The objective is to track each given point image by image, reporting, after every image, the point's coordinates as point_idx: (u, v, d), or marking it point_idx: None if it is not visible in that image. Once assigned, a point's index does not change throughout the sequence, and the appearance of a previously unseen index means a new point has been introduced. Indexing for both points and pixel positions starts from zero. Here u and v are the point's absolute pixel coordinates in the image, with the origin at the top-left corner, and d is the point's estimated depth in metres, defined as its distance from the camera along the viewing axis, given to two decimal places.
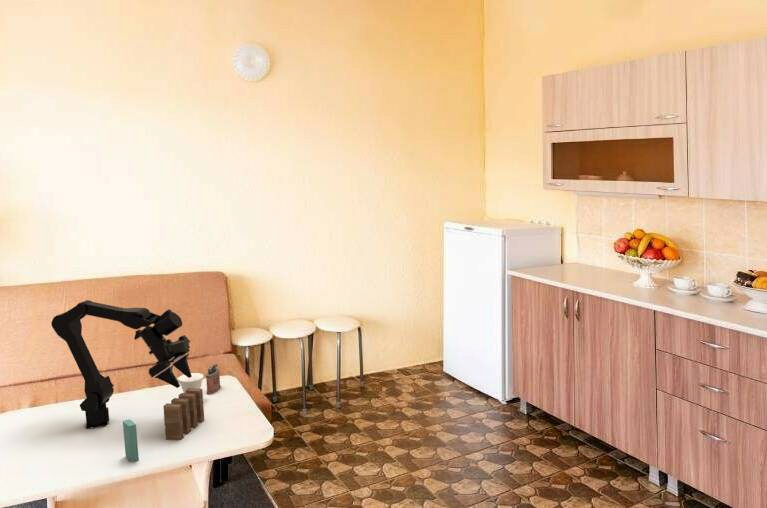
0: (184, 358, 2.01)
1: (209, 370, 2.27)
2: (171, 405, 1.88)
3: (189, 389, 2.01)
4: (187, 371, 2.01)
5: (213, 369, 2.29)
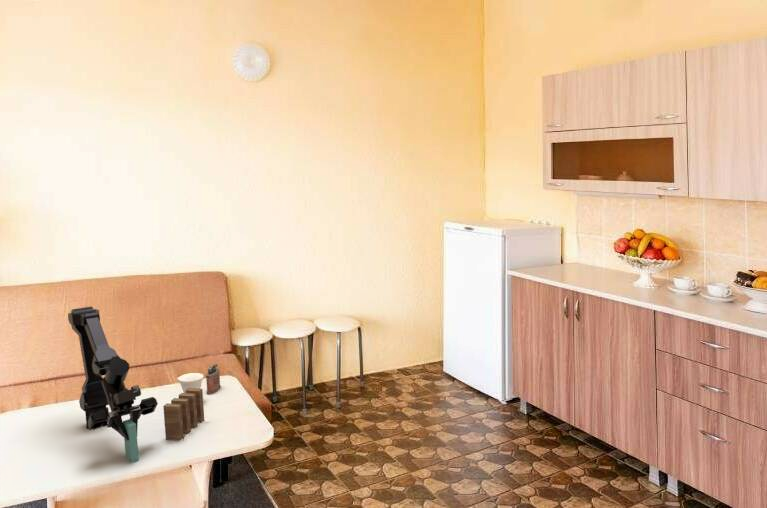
0: (132, 414, 1.77)
1: (209, 370, 2.27)
2: (171, 405, 1.88)
3: (189, 389, 2.01)
4: None
5: (213, 369, 2.29)
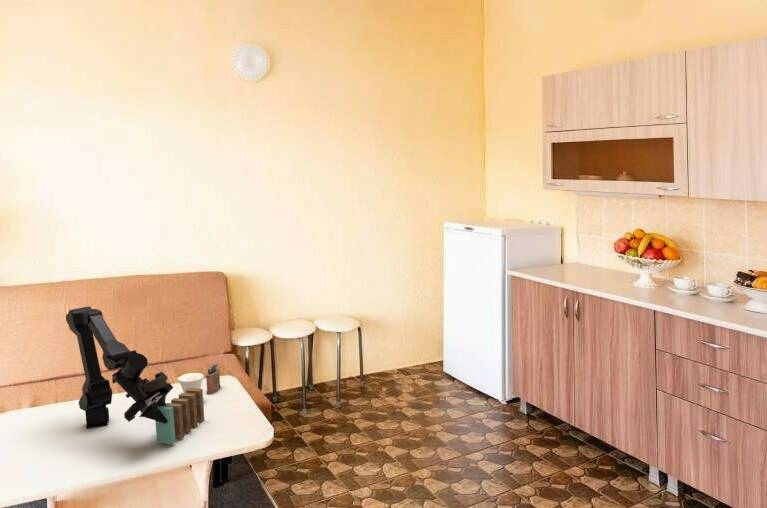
0: (161, 400, 1.85)
1: (209, 370, 2.27)
2: (171, 405, 1.88)
3: (189, 389, 2.01)
4: None
5: (213, 369, 2.29)
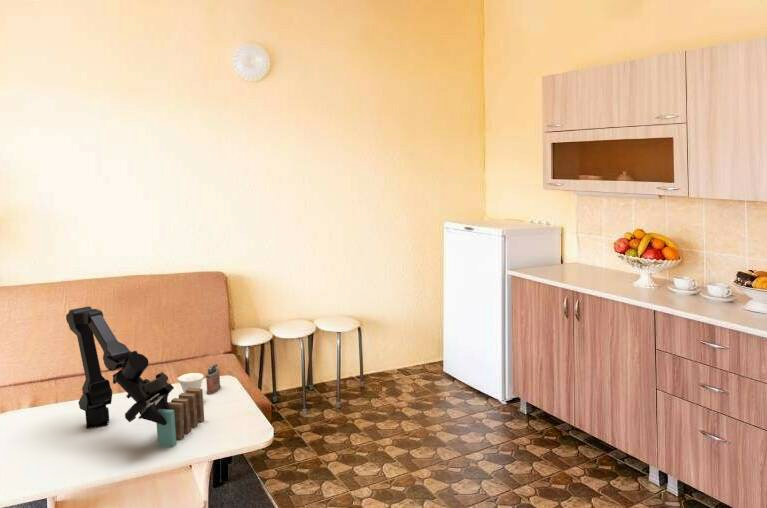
0: (163, 399, 1.86)
1: (209, 370, 2.27)
2: (173, 403, 1.89)
3: (189, 389, 2.01)
4: None
5: (213, 369, 2.29)
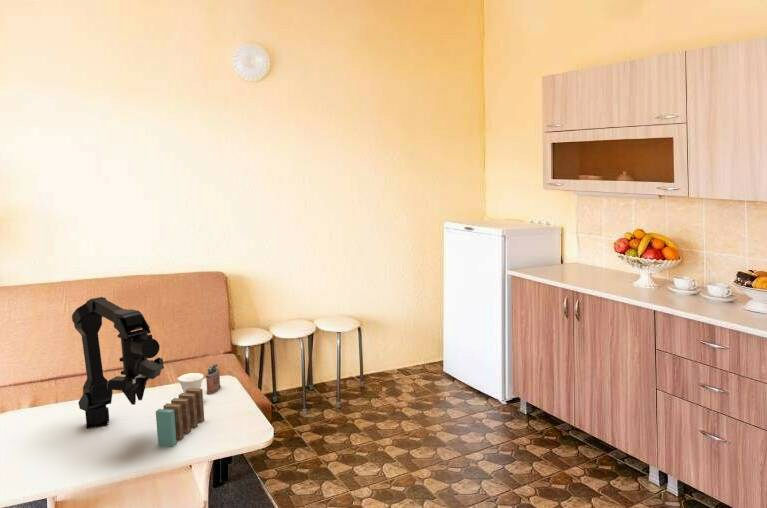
0: (144, 380, 1.86)
1: (209, 370, 2.27)
2: (171, 405, 1.88)
3: (189, 389, 2.01)
4: (140, 393, 1.86)
5: (213, 369, 2.29)
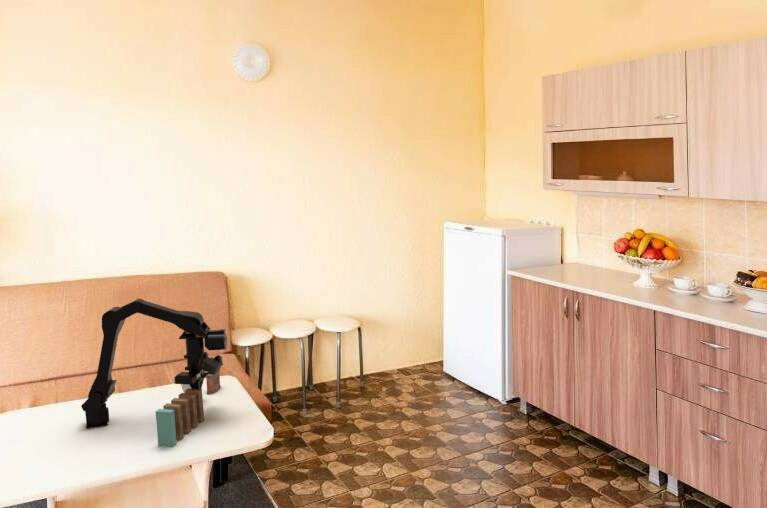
0: (202, 377, 2.03)
1: None
2: (171, 405, 1.88)
3: (188, 389, 2.01)
4: None
5: None
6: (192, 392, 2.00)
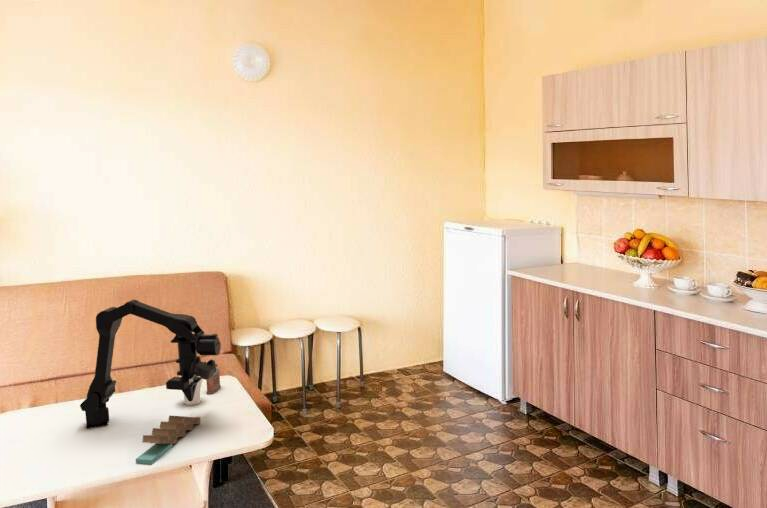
0: (195, 382, 1.98)
1: None
2: (150, 440, 1.76)
3: (171, 419, 1.91)
4: None
5: None
6: (176, 422, 1.91)
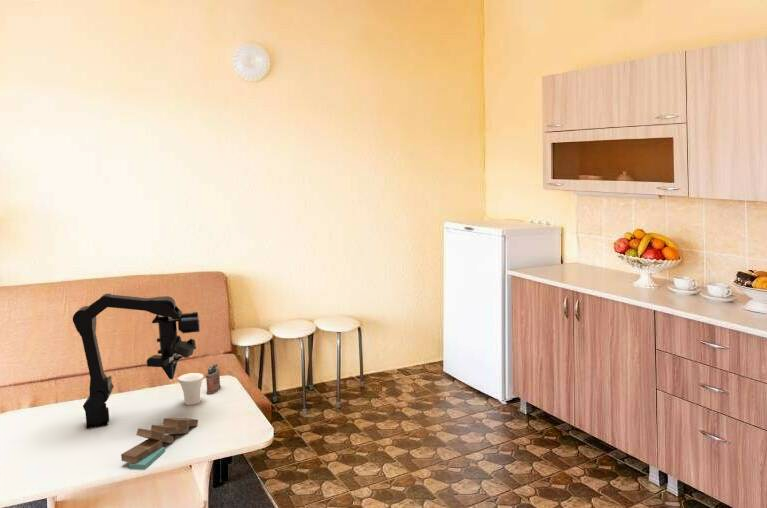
0: (176, 360, 2.05)
1: (209, 370, 2.27)
2: (128, 460, 1.71)
3: (165, 422, 1.90)
4: None
5: (213, 369, 2.29)
6: (170, 425, 1.90)
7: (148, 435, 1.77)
